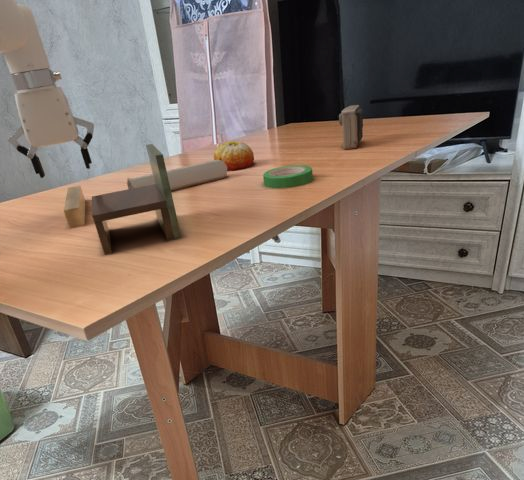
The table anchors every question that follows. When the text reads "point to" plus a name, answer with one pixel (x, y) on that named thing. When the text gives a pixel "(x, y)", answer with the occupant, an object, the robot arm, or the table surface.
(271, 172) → the tape roll
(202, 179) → the tube
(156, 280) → the table surface
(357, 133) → the camera
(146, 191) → the miniature wooden chair
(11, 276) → the table surface
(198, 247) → the table surface
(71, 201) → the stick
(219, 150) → the fruit
